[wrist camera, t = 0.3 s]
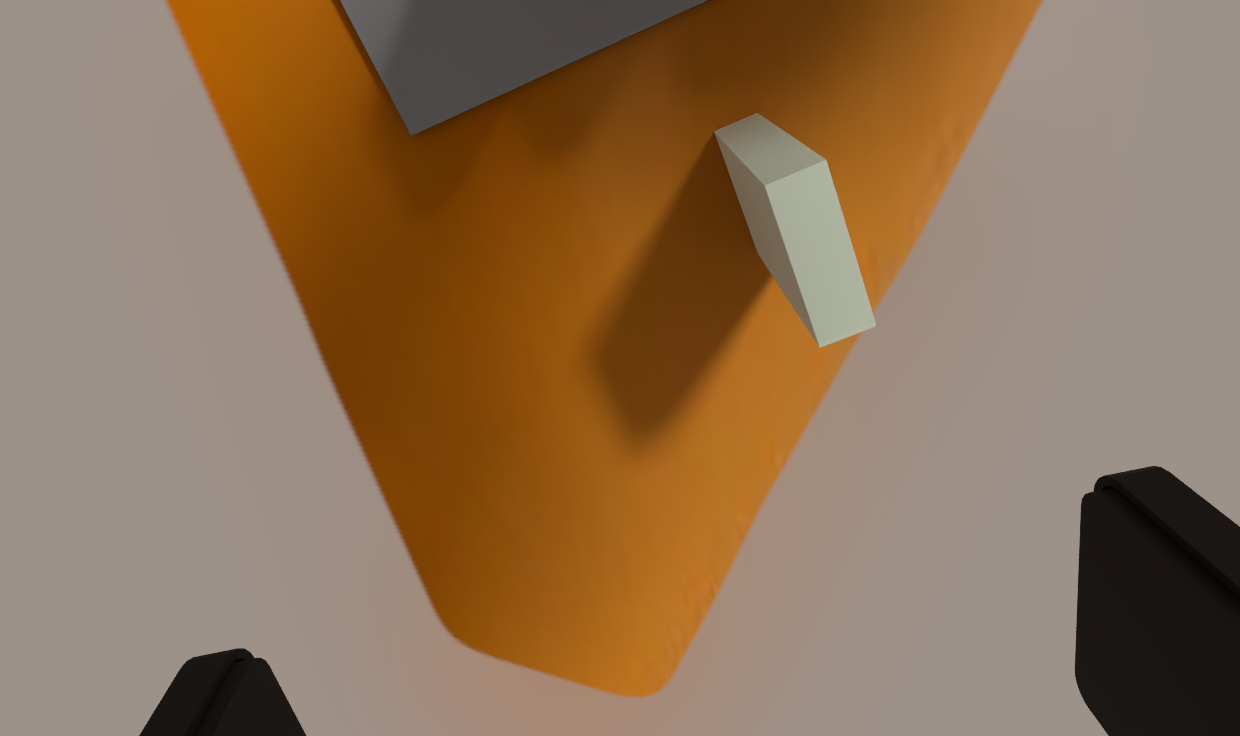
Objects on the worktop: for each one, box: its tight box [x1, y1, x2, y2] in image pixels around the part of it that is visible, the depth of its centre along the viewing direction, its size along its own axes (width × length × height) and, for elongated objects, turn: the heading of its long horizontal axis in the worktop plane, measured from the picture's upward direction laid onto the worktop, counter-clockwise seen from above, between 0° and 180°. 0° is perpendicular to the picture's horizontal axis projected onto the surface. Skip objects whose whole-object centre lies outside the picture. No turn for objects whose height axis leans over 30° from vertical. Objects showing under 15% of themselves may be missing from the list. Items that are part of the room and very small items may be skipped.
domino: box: [714, 113, 876, 348], centre depth 31 cm, size 2×6×11 cm, turn 23°
